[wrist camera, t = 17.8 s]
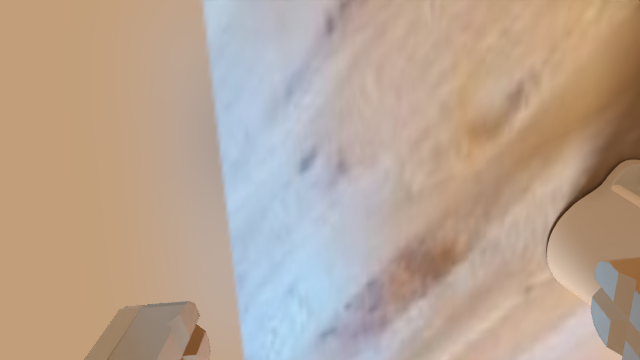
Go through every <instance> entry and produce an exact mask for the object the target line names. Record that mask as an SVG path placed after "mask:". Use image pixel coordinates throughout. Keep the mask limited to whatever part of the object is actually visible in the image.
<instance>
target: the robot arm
mask: <svg viewBox="0 0 640 360" xmlns="http://www.w3.org/2000/svg"><path fill="white" fill-rule="evenodd" d="M547 261H548V265H549V268H550V271H551V272H552V274H553V276H554V277H555V278H556V280H557V281H558V282H559V283H560V284H562V285H563V286H564V287H566V288H567V289H569V290H570V291H572V292H573V293H575V294H576V295H577V296H579V297H580V298H581V299H582V300H584V301H585V302H586V303H587V304H588V305H589V306H591V314H592V318H593V323H594V326H595V328H596V330H597V332H598V335H599V336H600V338H601V339H602V341H603V342H604V344H605V345H606V347H608V348H610V349H611V350H613V351H615V352H617V353H618V354H620V355H622V356H623V358H622V360H640V160H626V161H624V162H622V163H620V164H619V165H618V166H617V167H616V168H615V169H614V170H613V171H612V172H611V173H610V175H609V176H608V177H607V178H606V180H605V181H604V182H603V183H602V185H600V186H599V187H598V188H597V189H595V190H594V191H593V192H591V193H589V194H588V195H586V196H585V197H583V198H582V199H580V200H579V201H578V202H576V203H575V204H574V205H573V206H572V207H571V208H570V209H568V211H567V212H566V213H565V214H564V215H563V216H562V217H561V218H560V220H559V221H558V223H557V224H556V226H555V227H554V229H553V231H552V233H551V236H550V239H549V242H548V247H547ZM199 316H200V315H199V313H198V310H197V308H196V305H195V304H194V303H192V302H190V301H186V302H172V303H159V304H147V305H137V306H126V307H124V308H122V309H120V310H119V311H118V312H117V314H116V315H115V317H114V318H113V319H112V321H111V322H110V324H109V325H108V327H107V328H106V329H105V331H104V332H103V334H102V335H101V336H100V338H99V339H98V341H97V342H96V344H95V345H94V346H93V348H92V349H91V351H90V352H89V353H88V355H87V356H86V358H85V359H84V360H210V345H209V339H208V336H207V333H206V331H205V330H204V329H202V328H201V327H200V326H198V325H197V324H196V323H197V321H198V319H199Z"/></svg>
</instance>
